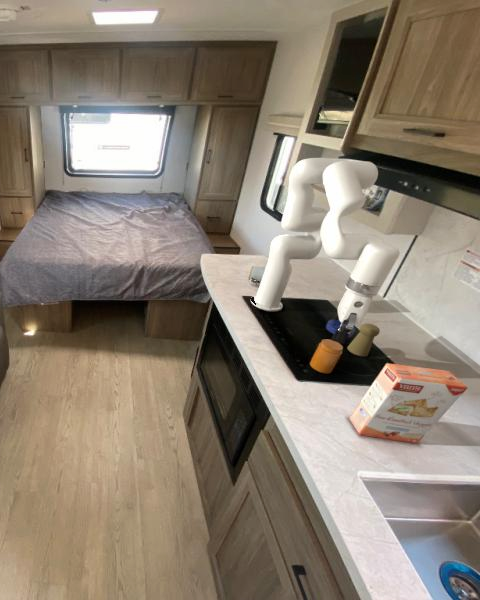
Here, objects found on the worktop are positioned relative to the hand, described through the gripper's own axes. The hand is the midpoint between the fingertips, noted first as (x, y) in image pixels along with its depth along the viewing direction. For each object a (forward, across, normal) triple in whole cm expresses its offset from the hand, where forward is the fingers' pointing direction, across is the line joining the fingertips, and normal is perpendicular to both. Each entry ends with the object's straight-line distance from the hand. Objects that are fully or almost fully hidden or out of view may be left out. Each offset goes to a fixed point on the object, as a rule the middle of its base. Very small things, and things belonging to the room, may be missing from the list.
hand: (336, 334), depth 103 cm
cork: (+13, +17, -12) cm, 25 cm away
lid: (-3, 0, 0) cm, 3 cm away
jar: (+13, 0, 0) cm, 13 cm away
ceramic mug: (+14, +57, +24) cm, 63 cm away
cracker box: (+13, -22, -13) cm, 29 cm away
